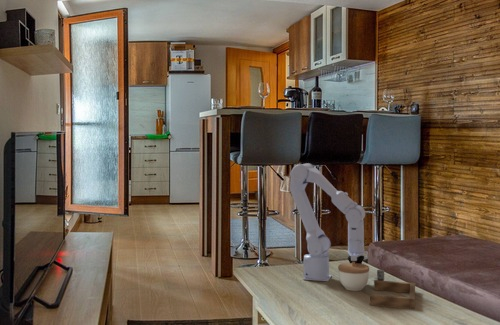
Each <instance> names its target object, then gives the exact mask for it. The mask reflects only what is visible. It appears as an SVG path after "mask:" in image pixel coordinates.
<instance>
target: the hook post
mask: <svg viewBox="0 0 500 325" xmlns="http://www.w3.org/2000/svg"><path fill="white" fill-rule="evenodd" d="M376 271H377V272H376V276H377V278H376V280H379V281H385V270H384V269H377V270H376Z"/></svg>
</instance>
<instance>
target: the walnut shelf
mask: <svg viewBox="0 0 500 325" xmlns="http://www.w3.org/2000/svg"><path fill="white" fill-rule="evenodd" d="M373 290H374V291H385V292H386V291H387V292H397V293H408V294H409V296H399V295H387V294H386V295H385V294H384V295H383V294H375V293H373V294H372V293H371V294H370V293H369V306H376V305H379V306H378V307H380V306H381V307H392V308H400V309H401V308H402V309H414V310H415V308H416V306H415V304H416V283H415V282H406V281H393V280H392V281H390V280H384V281H379V280H377V279H375V280H374V281H373Z"/></svg>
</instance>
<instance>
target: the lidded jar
mask: <svg viewBox="0 0 500 325" xmlns="http://www.w3.org/2000/svg"><path fill="white" fill-rule="evenodd" d="M337 270H338V277H339V278H338V279H339V282H340V284H341V285H342V286H343V287H344V289H345V290H347V291H352V292H357V291H358V292H359V291H362V290H363V289H364V288H365V287H366V285H367V284H368V282H369V276H370V266H369V265H367V264H364V263H362V264H360V263H355V262H352V263H350V262H346V263H341V264H339V265H338V266H337Z"/></svg>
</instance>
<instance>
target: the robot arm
mask: <svg viewBox="0 0 500 325" xmlns="http://www.w3.org/2000/svg"><path fill="white" fill-rule="evenodd" d="M289 176H290V182H289V192H290V194H291V197H292V199H293V201H294V204H295V207H296V209H297V212H298V214H299V217H300V219H301V221H302V223H303V227H304V230H305V232H306V236H305V240H306V244H307V246H306V247H307V252H308V254H304V255H303V263H302V264H303V266H302V268H303V278H302V279H303V280H304V281H305V280H306V281H318V282H329V281H330V279H331V277H332V274H330V256H329V255H330V253H329V250H330V248H331V244H332V243H331V239H330V238H329V237H328V236H327V235H326V234H325V231H324V230H323V229H321V227H320V225H319V223H318V220H317V218H316V215H315V213H314V210H313V207H312V205H311V202H310V200H309V198H308V196H307V193H306V192H307V191H306V187H307V185H308V184H309V183H312V184H316V186H318V187H319V188H321V190H322V191H324V193H326V194H327V195H328V196H329V197H330V198H331V203H332V204H333V205H334V206H335V207H336V208H337V209H338V210H339V211H340V212H341V213H343V214H344V215H345V219H346V221H347V254H348V256H347V260H348V263H352V262H355V263H360V264H363V260H364V259H365V255H368V250H365V226H364V222H365V221H364V219H365V217H366V210H365V209H364V207H363V206H362V205H358V203H357V202H356V201H354V200H353V199H352V198H350V196H348V195H349V193H348V192H347V191H345V192H344V191H342V190H337V188H335V186H333V184H332V183H331V182H330V181H329V180H328V179H327V178H326V177H325V176H324V175H323V173H321V171H320V170H319V169H318V168H316V167H315V166H314V164H312V163H309V162H308V163H307V162H306V163H303V164H302V163H298V164H296V165H294V166H293V167H292V169H291V171H290V173H289Z"/></svg>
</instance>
